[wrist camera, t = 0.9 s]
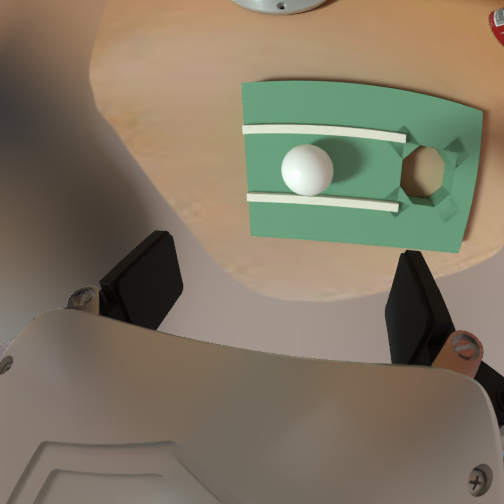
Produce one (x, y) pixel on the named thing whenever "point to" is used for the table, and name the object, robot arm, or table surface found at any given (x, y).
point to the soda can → (497, 25)
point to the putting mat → (359, 163)
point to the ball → (307, 170)
